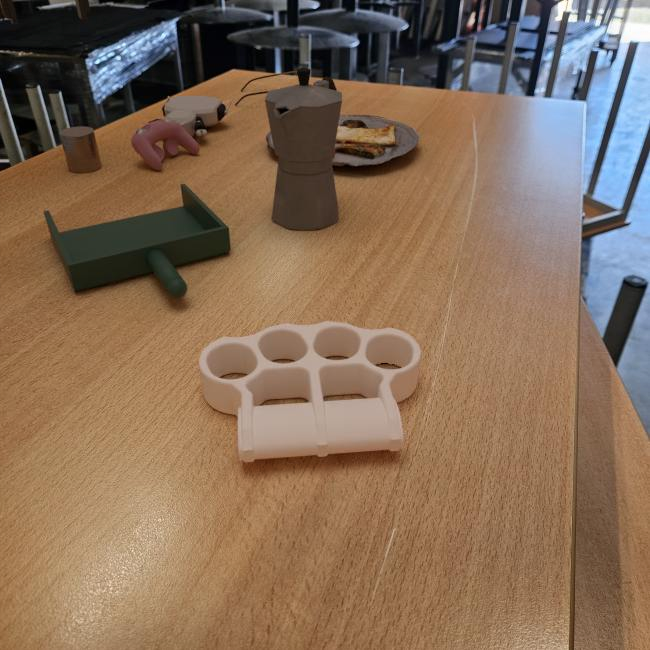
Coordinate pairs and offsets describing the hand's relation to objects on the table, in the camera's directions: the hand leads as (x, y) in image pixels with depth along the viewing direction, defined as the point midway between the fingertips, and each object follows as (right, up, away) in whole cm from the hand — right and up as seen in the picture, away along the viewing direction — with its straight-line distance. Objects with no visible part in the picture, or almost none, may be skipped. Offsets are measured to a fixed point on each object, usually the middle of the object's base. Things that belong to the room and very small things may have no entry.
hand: (49, 20), depth 76 cm
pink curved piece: (+12, -14, +15) cm, 24 cm away
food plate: (+39, -11, +20) cm, 46 cm away
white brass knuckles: (+36, -47, -29) cm, 65 cm away
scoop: (+17, -33, -11) cm, 39 cm away
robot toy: (+12, -6, +26) cm, 30 cm away
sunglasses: (+26, +7, +45) cm, 52 cm away
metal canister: (0, -16, +12) cm, 20 cm away
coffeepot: (+35, -26, 0) cm, 43 cm away
